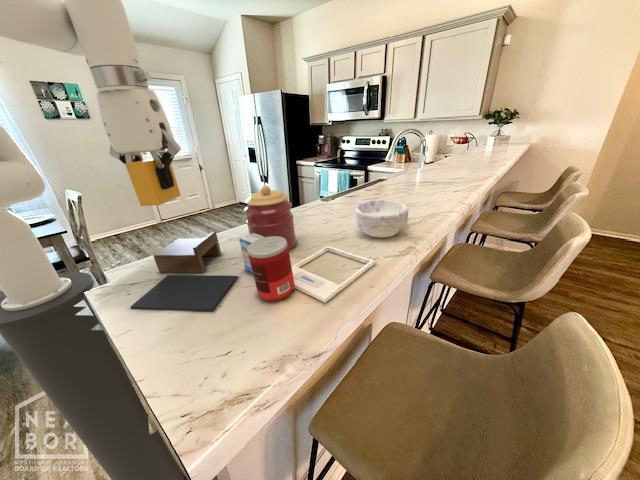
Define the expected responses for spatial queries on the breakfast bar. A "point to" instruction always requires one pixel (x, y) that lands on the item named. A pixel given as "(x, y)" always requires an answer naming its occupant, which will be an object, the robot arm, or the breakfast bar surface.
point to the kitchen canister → (270, 215)
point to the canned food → (271, 268)
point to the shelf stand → (187, 254)
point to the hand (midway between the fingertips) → (157, 187)
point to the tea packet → (150, 183)
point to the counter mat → (186, 293)
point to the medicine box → (244, 244)
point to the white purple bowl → (381, 217)
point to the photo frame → (319, 285)
